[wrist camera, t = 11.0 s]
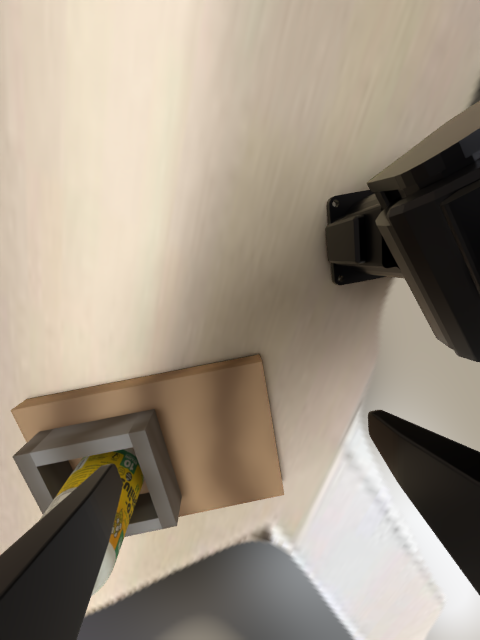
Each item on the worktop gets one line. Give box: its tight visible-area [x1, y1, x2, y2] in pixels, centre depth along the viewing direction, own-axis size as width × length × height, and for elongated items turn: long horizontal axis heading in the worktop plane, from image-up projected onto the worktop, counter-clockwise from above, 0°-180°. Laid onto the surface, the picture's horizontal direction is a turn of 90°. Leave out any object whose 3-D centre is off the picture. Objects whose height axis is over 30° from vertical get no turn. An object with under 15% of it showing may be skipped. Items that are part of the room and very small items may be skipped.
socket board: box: [11, 354, 284, 537], centre depth 20 cm, size 20×14×4 cm
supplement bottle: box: [38, 448, 144, 596], centre depth 16 cm, size 5×5×10 cm
